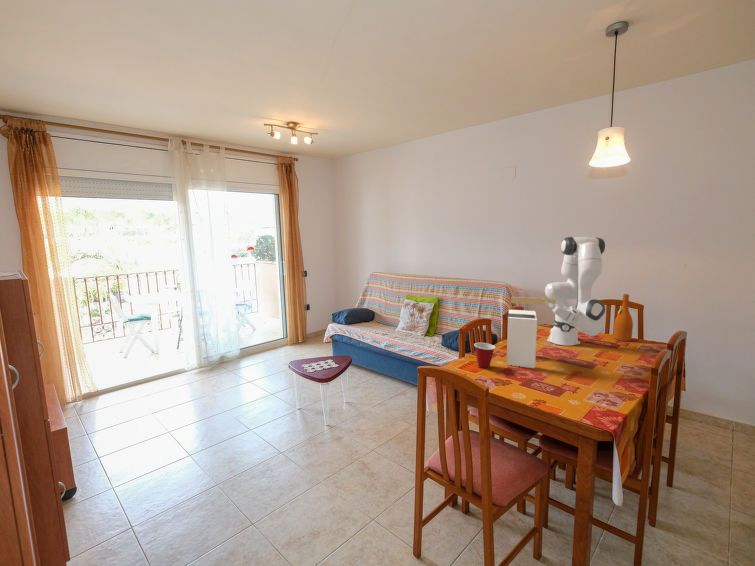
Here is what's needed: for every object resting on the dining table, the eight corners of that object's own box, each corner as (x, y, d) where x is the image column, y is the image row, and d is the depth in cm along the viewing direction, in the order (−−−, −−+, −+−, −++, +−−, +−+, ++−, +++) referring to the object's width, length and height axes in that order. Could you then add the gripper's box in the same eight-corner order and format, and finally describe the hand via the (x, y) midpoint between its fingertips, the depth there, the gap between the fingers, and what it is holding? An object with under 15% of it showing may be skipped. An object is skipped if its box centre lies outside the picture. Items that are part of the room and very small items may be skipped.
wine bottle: (617, 336, 238) (621, 292, 234) (634, 340, 230) (638, 294, 225) (610, 339, 233) (613, 293, 228) (627, 342, 224) (631, 296, 220)
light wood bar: (510, 301, 195) (511, 296, 195) (555, 304, 187) (555, 298, 187) (510, 303, 192) (511, 297, 192) (556, 305, 185) (556, 299, 184)
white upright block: (507, 352, 211) (508, 309, 207) (533, 355, 206) (535, 310, 202) (506, 365, 191) (508, 317, 187) (534, 368, 186) (537, 319, 182)
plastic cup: (498, 370, 185) (498, 347, 183) (477, 371, 184) (478, 348, 182) (490, 362, 195) (491, 341, 194) (470, 363, 195) (471, 342, 193)
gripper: (570, 306, 193) (546, 292, 196) (576, 314, 174) (550, 299, 177) (563, 315, 195) (540, 301, 198) (568, 324, 176) (542, 309, 179)
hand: (544, 300), depth 188 cm, fingers closed on light wood bar, 3 cm apart
